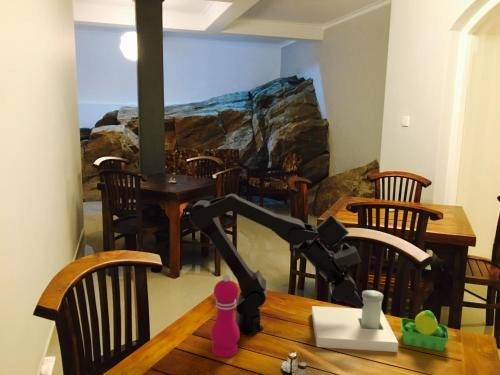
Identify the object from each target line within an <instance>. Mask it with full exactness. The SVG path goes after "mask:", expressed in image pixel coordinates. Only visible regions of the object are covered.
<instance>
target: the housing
mask: <svg viewBox="0 0 500 375" xmlns="http://www.w3.org/2000/svg"><path fill="white" fill-rule="evenodd" d="M311 318H312V325H313V331H314V337H315V338H314V339H315V344H316V345H315V346H316V347H317V348H327V349H328V348H329V349H344V350H345V349H346V350H359V351H374V352H375V351H377V352H380V351H381V352H391V353H393V352H394V353H398V349H399V342H398V340H397V338H396V336H395V333H394V332H393V329H392V327H391V325H390V323H389V322H388V320H387V318H386V316H385V314H384V312H383V310H382V309H381V315H380V327H379V330H377V329H362V328H361V319H362V308H352V307H351V308H350V307H338V306H337V307H335V306H334V307H333V306H315V305H314V306H313V305H312V306H311Z"/></svg>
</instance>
